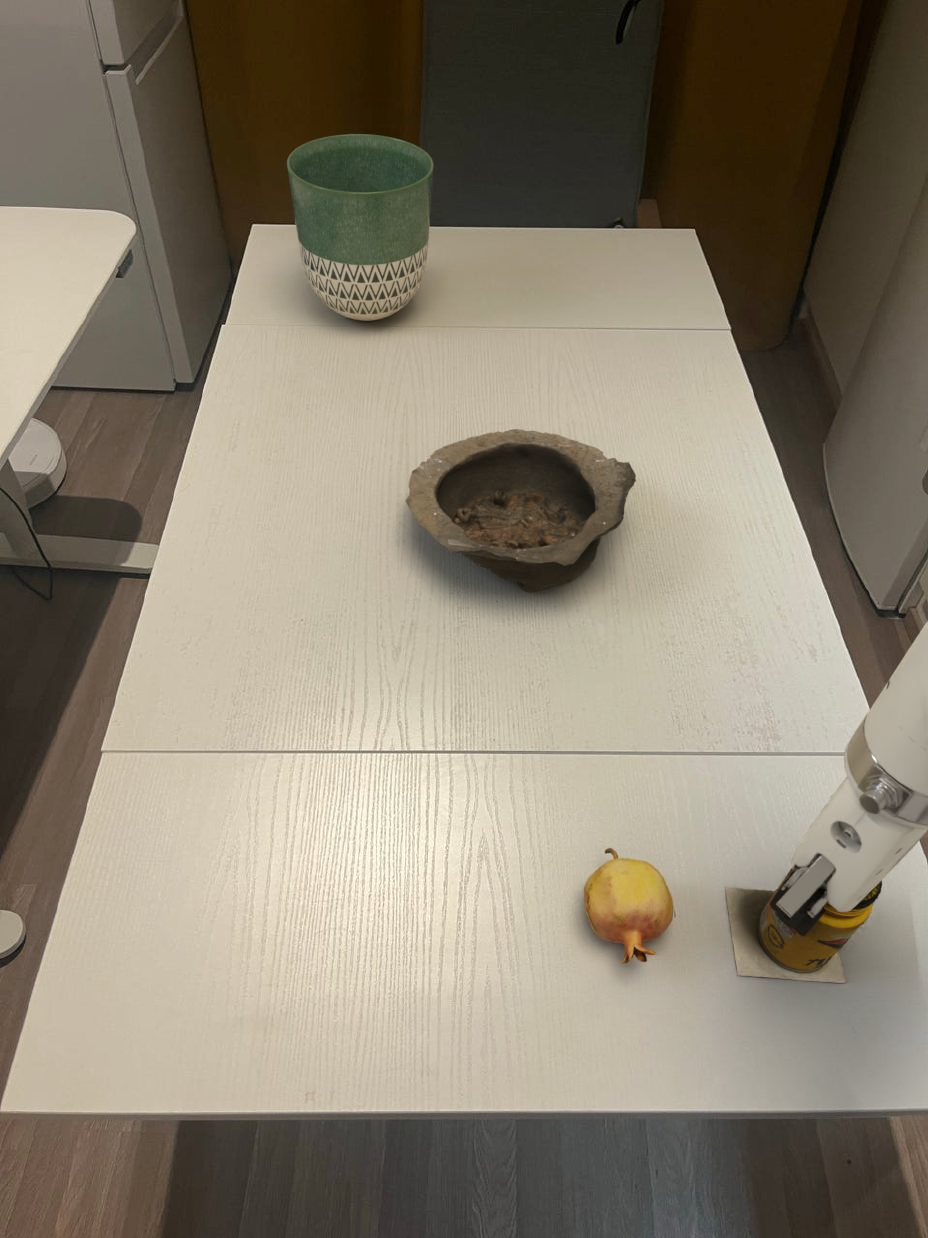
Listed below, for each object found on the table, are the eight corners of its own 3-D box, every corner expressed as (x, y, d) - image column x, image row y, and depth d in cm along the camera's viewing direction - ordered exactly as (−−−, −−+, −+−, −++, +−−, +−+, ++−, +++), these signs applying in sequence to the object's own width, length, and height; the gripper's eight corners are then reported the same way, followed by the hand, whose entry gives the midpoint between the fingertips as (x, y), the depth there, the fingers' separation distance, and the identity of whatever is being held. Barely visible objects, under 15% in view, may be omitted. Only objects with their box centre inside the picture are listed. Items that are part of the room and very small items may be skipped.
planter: (294, 283, 140) (279, 136, 124) (416, 273, 143) (416, 130, 127) (310, 350, 127) (296, 197, 111) (443, 338, 131) (448, 188, 115)
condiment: (844, 983, 70) (907, 919, 61) (737, 976, 70) (784, 911, 61) (824, 896, 75) (879, 824, 66) (724, 888, 75) (765, 816, 66)
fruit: (571, 829, 72) (589, 951, 65) (657, 816, 71) (684, 939, 64) (581, 868, 77) (598, 985, 70) (661, 856, 76) (687, 974, 69)
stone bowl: (613, 632, 93) (622, 570, 86) (384, 599, 98) (375, 537, 91) (636, 483, 109) (644, 420, 102) (438, 460, 114) (433, 398, 107)
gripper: (888, 891, 49) (785, 1005, 62) (1043, 732, 56) (921, 864, 70) (777, 795, 52) (702, 922, 66) (936, 658, 60) (840, 797, 73)
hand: (816, 891), depth 68 cm, fingers closed on condiment, 6 cm apart
